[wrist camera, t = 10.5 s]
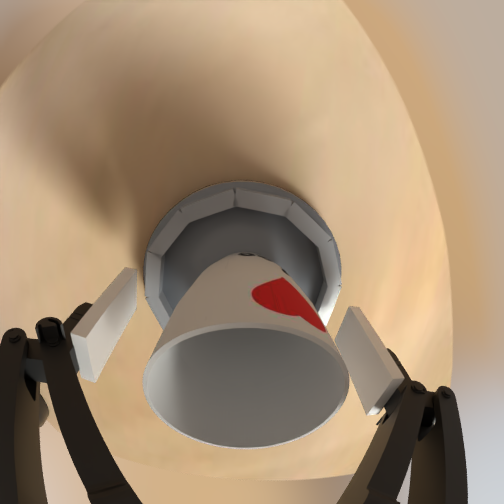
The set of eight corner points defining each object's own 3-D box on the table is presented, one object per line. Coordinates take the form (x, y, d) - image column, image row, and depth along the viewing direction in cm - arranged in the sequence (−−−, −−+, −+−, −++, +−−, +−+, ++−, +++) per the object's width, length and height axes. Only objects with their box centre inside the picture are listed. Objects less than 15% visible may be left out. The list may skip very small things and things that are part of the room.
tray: (146, 335, 21) (139, 351, 19) (159, 164, 17) (148, 166, 15) (304, 359, 23) (309, 376, 21) (359, 206, 18) (372, 212, 16)
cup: (320, 301, 19) (370, 408, 10) (227, 348, 21) (222, 461, 11) (265, 205, 17) (293, 275, 7) (162, 269, 18) (103, 372, 9)
